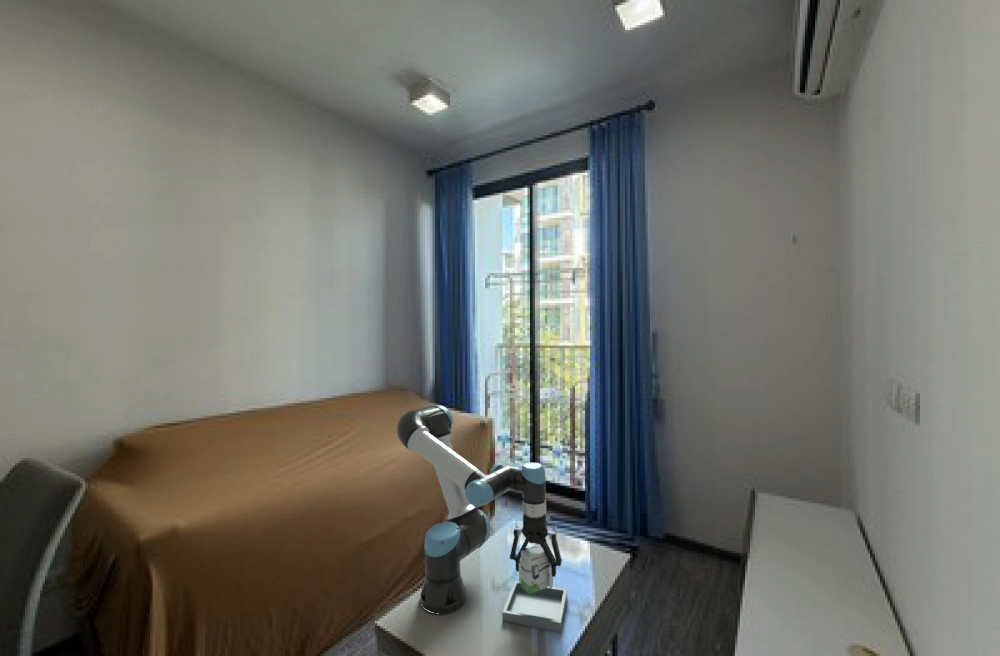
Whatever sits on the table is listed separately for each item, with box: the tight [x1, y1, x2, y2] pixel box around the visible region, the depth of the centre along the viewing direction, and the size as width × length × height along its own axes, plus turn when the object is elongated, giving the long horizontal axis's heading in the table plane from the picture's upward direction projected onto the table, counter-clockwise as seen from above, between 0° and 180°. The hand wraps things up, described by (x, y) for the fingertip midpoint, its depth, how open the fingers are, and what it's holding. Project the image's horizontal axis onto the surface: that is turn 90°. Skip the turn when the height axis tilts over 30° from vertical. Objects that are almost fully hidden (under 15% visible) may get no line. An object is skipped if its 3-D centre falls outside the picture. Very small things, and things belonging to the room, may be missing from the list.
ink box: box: [520, 544, 550, 594], centre depth 131 cm, size 9×5×12 cm, turn 119°
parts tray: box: [501, 580, 568, 634], centre depth 131 cm, size 18×16×3 cm
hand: (536, 583), depth 131 cm, fingers closed on ink box, 9 cm apart
